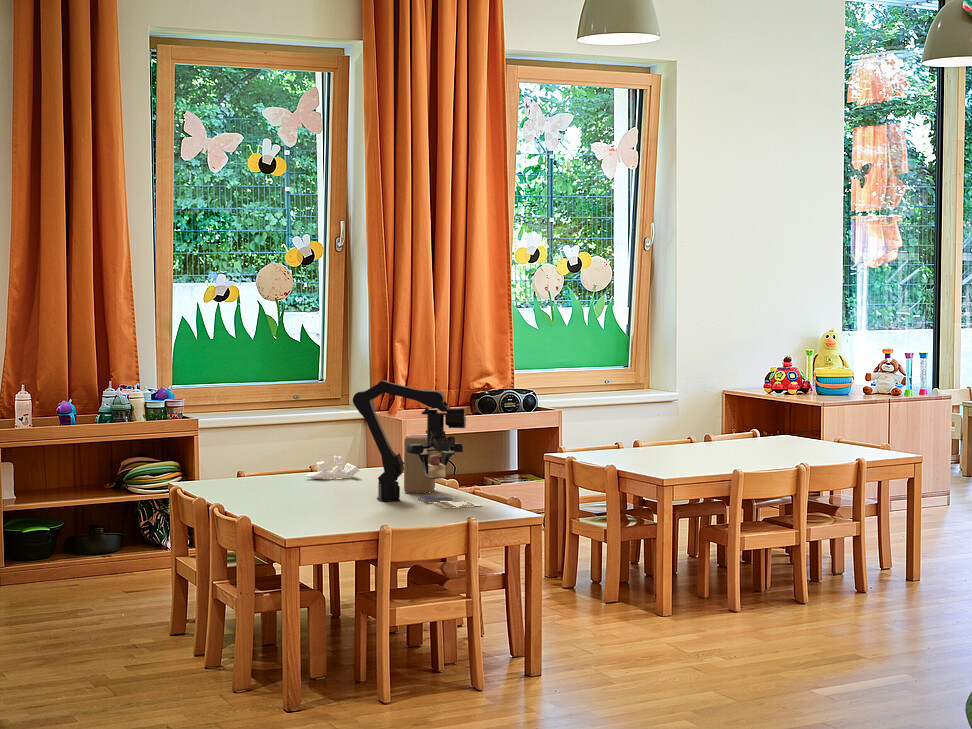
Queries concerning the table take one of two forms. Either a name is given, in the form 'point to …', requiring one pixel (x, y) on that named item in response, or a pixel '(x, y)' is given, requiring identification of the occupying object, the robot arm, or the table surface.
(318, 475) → the white coral
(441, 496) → the ink pad
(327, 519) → the table surface
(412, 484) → the wooden block
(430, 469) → the stamp
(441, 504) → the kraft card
